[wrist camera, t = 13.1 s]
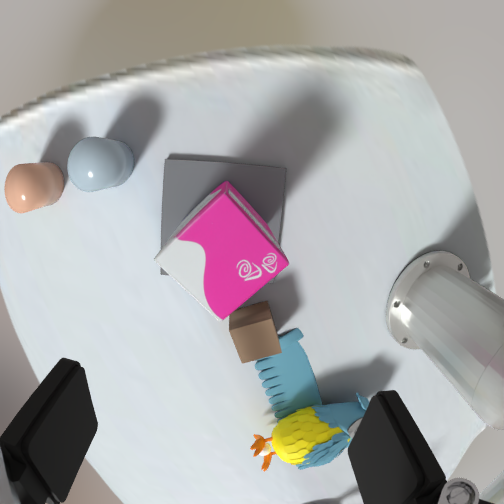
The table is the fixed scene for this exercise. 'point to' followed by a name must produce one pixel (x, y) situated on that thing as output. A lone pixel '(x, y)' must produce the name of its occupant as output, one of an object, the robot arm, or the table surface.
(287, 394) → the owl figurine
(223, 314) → the supplement box
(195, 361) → the table surface
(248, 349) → the walnut block
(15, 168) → the peach dome cap
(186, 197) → the coaster
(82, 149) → the pale blue dome knob
